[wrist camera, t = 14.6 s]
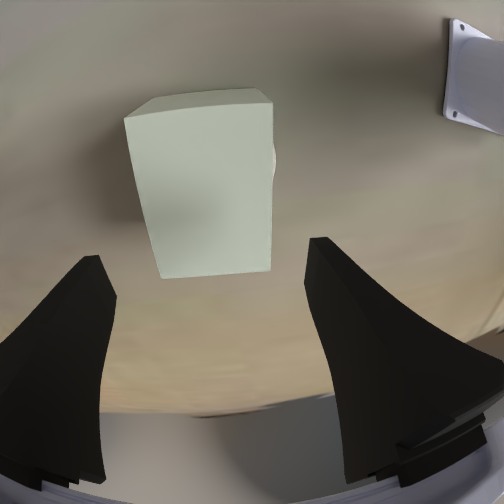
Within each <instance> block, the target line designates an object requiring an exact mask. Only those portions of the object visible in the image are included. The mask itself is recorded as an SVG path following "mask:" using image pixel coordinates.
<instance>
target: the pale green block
mask: <svg viewBox="0 0 504 504" xmlns="http://www.w3.org/2000/svg"><path fill="white" fill-rule="evenodd" d="M124 123H125V129H126V135H127V141H128V146H129V151H130V157H131V162H132V167H133V171H134V176H135V181H136V185H137V190H138V194H139V198H140V203H141V207H142V211H143V215H144V219H145V223H146V226H147V230H148V234H149V238H150V241H151V245H152V249H153V252H154V256H155V259H156V262H157V266H158V269H159V272H160V276H161V279H167V278H182V277H196V276H210V275H223V274H236V273H248V272H260V271H270V267H271V230H272V178H273V103H272V102H271V101H270V100H269V99H268V98H267V97H266V96H265V95H264V94H263V93H261V92H260V91H259V90H258V89H257V88H245V89H226V90H212V91H201V92H192V93H183V94H175V95H168V96H162V97H155V98H152V99H151V100H149V101H148V102H146V103H145V104H143V105H142V106H140V107H139V108H138V109H136V110H135V111H133V112H132V113H131V114H129V115H128V116H126V117H125V118H124Z"/></svg>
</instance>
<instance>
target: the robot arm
mask: <svg viewBox="0 0 504 504" xmlns="http://www.w3.org/2000/svg"><path fill="white" fill-rule="evenodd" d="M460 26H461V28H460ZM453 112H454V115H453ZM443 115H444V117H445V118H447V119H450V120H454V121H457V122H461V123H465V124H468V125H472V126H475V127H479V128H482V129H485V130H488V131H491V132H494V133H497V134H500V135H502V136H504V42H501V41H496V40H493V39H492V38H490V37H488V36H487V35H485V34H483V33H482V32H480V31H478V30H477V29H475V28H473V27H471V26H469V25H468V24H466V23H464V22H462V21H460V20H458V19H454V18H452V19H451V20H450V38H449V59H448V72H447V83H446V91H445V99H444V106H443ZM304 285H305V290H306V295H307V299H308V304H309V308H310V311H311V314H312V317H313V320H314V323H315V326H316V329H317V332H318V335H319V338H320V341H321V343H322V346H323V349H324V352H325V355H326V358H327V361H328V365H329V368H330V372H331V376H332V381H333V386H334V391H335V396H336V402H337V408H338V414H339V421H340V428H341V436H342V445H343V456H344V472H345V473H344V474H345V479H346V483H347V484H350V483H354V482H357V481H361V480H364V479H367V478H370V477H373V476H376V480H377V482H376V483H373V484H370V485H367V486H364V487H360V488H357V489H354V490H350V491H347V492H343V493H340V494H335V495H332V496H327V497H323V498H319V499H313V500H309V501H303V502H298V503H291V504H493V503H494V502H495V501H496V500H497V499H498V498H499V497H500V496H501V495H502V494H504V416H503V417H502V418H500V419H499V420H497V421H496V422H495V423H493V424H492V425H490V426H489V427H487V428H486V429H484V430H483V428H482V425H481V424H482V423H484V422H485V420H486V419H485V416H484V413H483V412H484V411H485V410H487V409H488V408H489V407H491V406H492V405H493V404H495V403H496V402H497V401H498V400H500V399H501V398H502V397H503V396H504V363H503V362H502V360H499V359H497V358H495V357H493V356H490V355H488V354H486V353H483V352H481V351H479V350H476V349H475V348H473V347H471V346H469V345H467V344H465V343H463V342H461V341H459V340H458V339H456V338H454V337H452V336H451V335H449V334H447V333H445V332H444V331H442V330H441V329H439V328H437V327H436V326H434V325H433V324H431V323H429V322H428V321H426V320H425V319H423V318H422V317H421V316H419V315H418V314H416V313H415V312H414V311H412V310H411V309H410V308H408V307H407V306H405V305H404V304H403V303H401V302H400V301H399V300H398V299H396V298H395V297H394V296H393V295H391V294H390V293H389V292H388V291H387V290H385V289H384V288H383V287H382V286H381V285H379V284H378V283H377V282H376V281H375V280H374V279H372V278H371V277H370V276H369V275H368V274H367V273H366V272H365V271H364V270H363V269H361V268H360V267H359V266H358V265H357V264H356V263H355V262H354V261H353V260H352V259H351V258H350V257H349V256H347V255H346V254H345V253H344V252H343V251H342V250H341V249H340V248H339V247H338V246H337V245H336V244H335V243H334V242H333V241H331V240H330V239H329V238H328V237H319V238H310V242H309V249H308V257H307V265H306V272H305V279H304ZM116 299H117V295H116V293H115V291H114V289H113V287H112V285H111V282H110V280H109V278H108V276H107V273H106V271H105V269H104V266H103V264H102V262H101V259H100V257H99V255H93V256H84V257H83V258H82V259H81V260H80V261H79V262H78V263H77V264H76V265H75V266H74V267H73V268H72V269H71V270H70V271H69V272H68V273H67V274H66V275H65V276H64V277H63V278H62V279H61V280H60V282H59V283H58V284H57V285H56V286H55V287H54V288H53V289H52V290H51V291H50V293H49V294H48V295H47V296H46V297H45V298H44V299H43V300H42V301H41V302H40V304H39V305H38V306H37V307H36V308H35V309H34V310H33V311H32V312H31V313H30V315H29V316H28V317H27V318H26V319H25V320H24V321H23V322H22V323H21V324H20V325H19V326H18V327H17V328H16V329H15V330H14V331H13V332H12V333H11V334H10V335H9V336H8V337H7V338H6V339H5V340H4V341H3V342H1V343H0V504H132V503H127V502H121V501H116V500H111V499H106V498H102V497H98V496H93V495H90V494H86V493H82V492H79V491H75V490H72V489H69V482H70V483H74V484H79V479H81V480H84V481H88V482H92V483H97V484H101V483H103V482H104V481H105V480H106V475H105V470H104V465H103V458H102V452H101V441H100V426H99V425H100V424H99V404H100V385H101V378H102V372H103V367H104V362H105V357H106V353H107V348H108V344H109V340H110V335H111V331H112V327H113V322H114V315H115V308H116Z"/></svg>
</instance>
